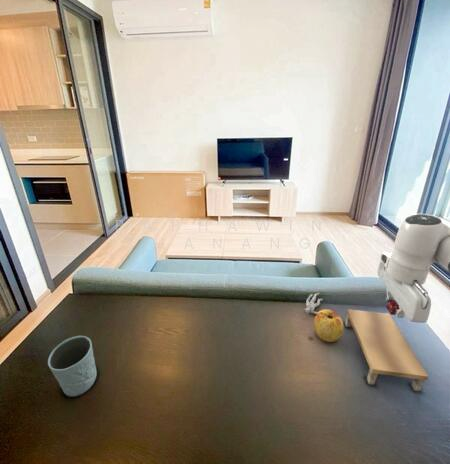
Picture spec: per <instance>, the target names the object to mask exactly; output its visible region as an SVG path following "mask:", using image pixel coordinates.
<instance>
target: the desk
mask: <svg viewBox="0 0 450 464" xmlns="http://www.w3.org/2000/svg"><path fill="white" fill-rule="evenodd" d="M346 314H347V315H346V318H345V322H344V324H345V327H346V328H352V329H353V331H354V333H355V336H356V338H357V341H358V343H359V345H360V349H361V350H362V353H363V355H364V357H365V359H366V362H367V364H368V367H369V370H368V373H367V377H366V381H367V383H368V385H373V386H375V383H376V381H377V377H378V375H386V376H392V377H400V378H407V379H413V380H412V382H411V387H412V389H413V391H415V392H421V391H422V388H423V386H424V384H425V381H428V379H429V375H428V373H427V372H426V369H425V368H424V367H423V365H422V363H421V362H420V361H419V359H418V357H417V356H416V354H415V352H414V351H413V349H412V348H411V346H410V345H409V343H408V341H407V340H406V338H405V337H404V335H403V333H402V331H401V330H400V328H399V327H398V325H397V324H396V322H395V320H394V319H393V317H392V315H391V314H390V313H387V312H377V311H368V310H357V309H349V308H348V309H346Z"/></svg>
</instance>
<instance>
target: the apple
mask: <svg viewBox="0 0 450 464" xmlns="http://www.w3.org/2000/svg"><path fill="white" fill-rule="evenodd" d="M317 312H318V313H317V314H315V316H314V320H313V326H314V329H315V333H316V335H317V337H319V338H320V340H322V341H324V342H327V343H333V342H336V341H337V340H339V339H340V338H341V337H342V335H343V333H344V322H343V320H342V319H343V318H341V316H340V315H339V314H338V313H337V312H336V311H334V310H332V309H330V308H329V309H328V308H323V309H320V310H319V311H317Z"/></svg>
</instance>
